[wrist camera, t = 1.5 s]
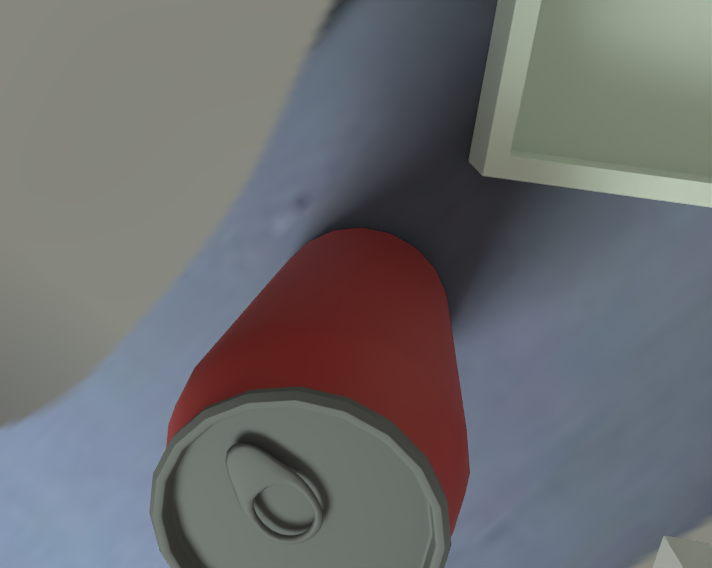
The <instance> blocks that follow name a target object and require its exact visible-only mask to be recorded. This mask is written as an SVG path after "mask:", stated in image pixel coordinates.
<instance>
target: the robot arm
mask: <svg viewBox="0 0 712 568" xmlns="http://www.w3.org/2000/svg"><path fill="white" fill-rule="evenodd" d="M653 568H712V548H711V546H710V545H709V544H708V543H704V542H698V541H693V540H687V539H681V538H675V537H669V536H664V537H663V539H662V542H661V545H660V548H659V551H658V554H657V557H656V559H655V562H654V565H653Z"/></svg>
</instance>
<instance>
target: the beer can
mask: <svg viewBox="0 0 712 568" xmlns="http://www.w3.org/2000/svg"><path fill="white" fill-rule="evenodd" d="M469 474H470V469H469V455H468V442H467V429H466V422H465V416H464V409H463V402H462V396H461V389H460V382H459V375H458V369H457V362H456V355H455V348H454V342H453V335H452V328H451V322H450V315H449V308H448V301H447V295H446V292H445V290H444V288H443V285H442V283H441V281H440V278H439V276H438V274H437V272H436V269H435V268H434V267H433V266H432V265H431V264H430V263H429V262H428V260H427V259H426V258H425V257H424V256H423V255H422V254H421V253H420V252H419V250H418V249H417V248H415V247H414V246H412V245H410V244H408V243H407V242H405V241H403V240H401V239H400V238H398V237H396V236H394V235H393V234H391V233H386V232H381V231H377V230H372V229H367V228H353V229H343V230H334V231H332V232H329V233H327V234H325V235H323V236H320V237H318V238H316V239H314V240H311V241H309V242H308V243H307V244H306V245H304V246H303V247H302V248H301V249H300V250H299V251H298V252H297V253H296V254H295V255H294V256H293V257H291V258H290V259H289V260H288V261H287V263H286V264H285V265H284V266H283V267H282V268H281V269H280V271H279V272H278V273H277V274H276V275H275V276H274V277H273V279H272V280H271V281H270V282H269V283H268V284H267V285H266V287H265V288H264V289H263V290H262V291H261V292H260V294H259V295H258V296H257V297H256V298H255V299H254V300H253V302H252V303H251V304H250V305H249V306H248V307H247V308H246V310H245V311H244V312H243V313H242V314H241V315H240V316H239V318H238V319H237V320H236V321H235V322H234V323H233V324H232V326H231V327H230V328H229V329H228V330H227V331H226V332H225V334H224V335H223V336H222V337H221V338H220V339H219V341H218V342H217V343H216V344H215V345H214V346H213V347H212V349H211V350H210V351H209V352H208V353H207V354H206V355H205V357H204V358H203V359H202V360H201V361H200V362H199V363H198V365H197V366H196V367H195V368H194V370H193V372H192V374H191V376H190V378H189V380H188V382H187V384H186V386H185V388H184V390H183V392H182V394H181V396H180V398H179V400H178V402H177V404H176V406H175V409H174V411H173V414H172V417H171V420H170V422H169V427H168V436H167V446H166V450H165V452H164V454H163V456H162V458H161V459H160V461H159V463H158V465H157V467H156V469H155V471H154V473H153V480H152V491H151V502H150V516H151V520H152V524H153V527H154V531H155V535H156V539H157V542H158V546H159V550H160V552H161V553H162V555H163V557H164V558H165V560H166V561H167V563H168V564H169V566H170V567H171V568H444V567H445V563H446V560H447V557H448V554H449V550H450V547H451V536H452V534H453V531H454V528H455V525H456V522H457V518H458V515H459V512H460V509H461V505H462V502H463V499H464V496H465V492H466V487H467V483H468V478H469Z"/></svg>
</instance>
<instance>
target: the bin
mask: <svg viewBox="0 0 712 568" xmlns="http://www.w3.org/2000/svg"><path fill="white" fill-rule="evenodd" d="M468 161H469V162H470V163H471V164H472V165H473V166H474V168H475V169H476V170H477V171H478V172H479V173H480V174H481V175H482V176H487V177H495V178H502V179H509V180H516V181H524V182H531V183H538V184H545V185H553V186H560V187H567V188H574V189H582V190H589V191H596V192H604V193H611V194H618V195H625V196H633V197H640V198H647V199H654V200H662V201H669V202H676V203H683V204H691V205H698V206H705V207H712V0H498V2H497V7H496V13H495V18H494V24H493V29H492V34H491V40H490V45H489V51H488V56H487V62H486V67H485V73H484V78H483V84H482V89H481V95H480V100H479V105H478V111H477V116H476V122H475V127H474V133H473V138H472V144H471V149H470V155H469V160H468Z"/></svg>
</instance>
